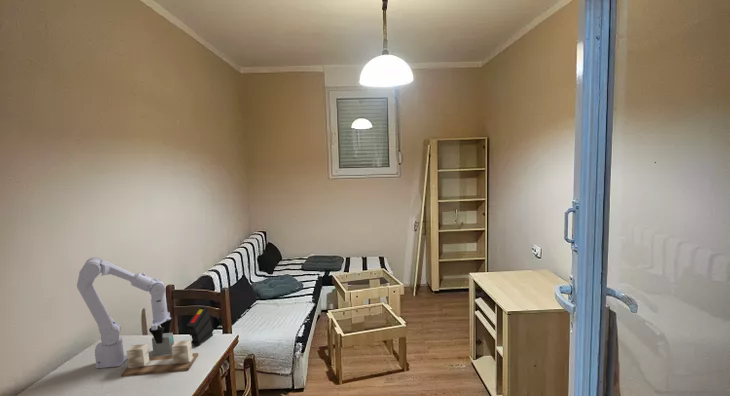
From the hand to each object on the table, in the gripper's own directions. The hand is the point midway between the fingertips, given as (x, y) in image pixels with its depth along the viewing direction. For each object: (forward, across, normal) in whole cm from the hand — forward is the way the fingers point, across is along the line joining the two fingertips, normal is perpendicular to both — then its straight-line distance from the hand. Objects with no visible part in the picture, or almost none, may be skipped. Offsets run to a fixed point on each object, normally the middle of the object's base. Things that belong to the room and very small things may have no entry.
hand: (163, 339), depth 176 cm
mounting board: (+5, -13, -4) cm, 15 cm away
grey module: (+5, 0, 0) cm, 5 cm away
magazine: (+6, +6, -14) cm, 16 cm away
